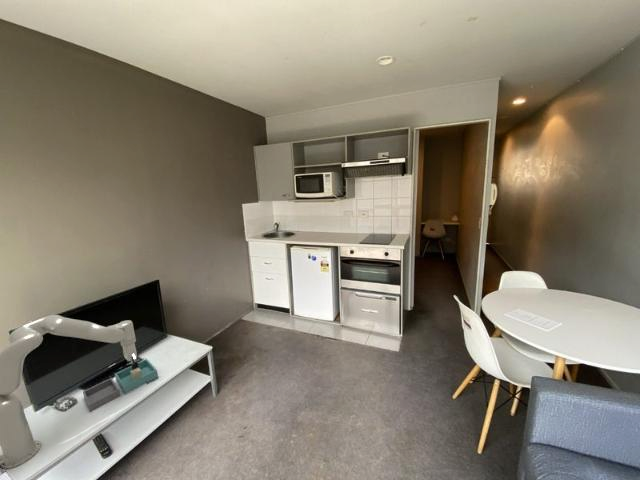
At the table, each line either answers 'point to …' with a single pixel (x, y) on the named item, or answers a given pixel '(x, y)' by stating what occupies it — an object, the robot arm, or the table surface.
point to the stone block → (136, 374)
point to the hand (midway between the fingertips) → (133, 365)
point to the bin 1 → (101, 394)
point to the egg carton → (66, 403)
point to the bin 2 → (148, 376)
